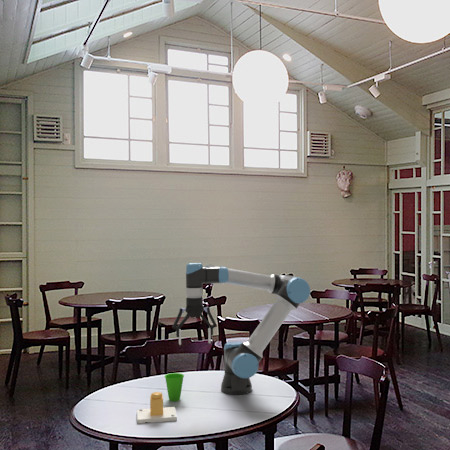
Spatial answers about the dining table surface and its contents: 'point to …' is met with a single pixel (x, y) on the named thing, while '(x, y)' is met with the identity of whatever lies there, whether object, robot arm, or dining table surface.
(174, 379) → the cup
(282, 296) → the robot arm
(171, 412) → the lid
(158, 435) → the dining table surface
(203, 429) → the dining table surface
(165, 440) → the dining table surface
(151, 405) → the ball on cube
